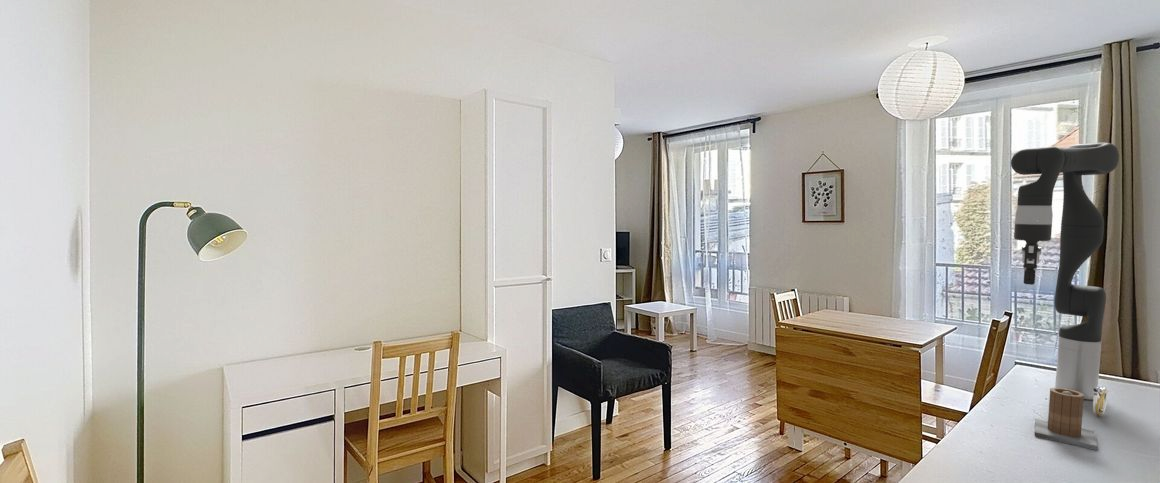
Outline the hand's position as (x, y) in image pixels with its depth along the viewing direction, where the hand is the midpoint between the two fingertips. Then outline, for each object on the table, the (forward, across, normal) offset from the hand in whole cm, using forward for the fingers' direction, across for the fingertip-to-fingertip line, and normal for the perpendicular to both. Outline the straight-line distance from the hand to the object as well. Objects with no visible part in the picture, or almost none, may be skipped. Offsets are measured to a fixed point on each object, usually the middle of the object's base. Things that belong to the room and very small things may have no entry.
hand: (1029, 282), depth 140 cm
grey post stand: (+36, -12, -8) cm, 39 cm away
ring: (+36, +12, -16) cm, 41 cm away
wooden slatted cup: (+35, -12, -8) cm, 38 cm away
